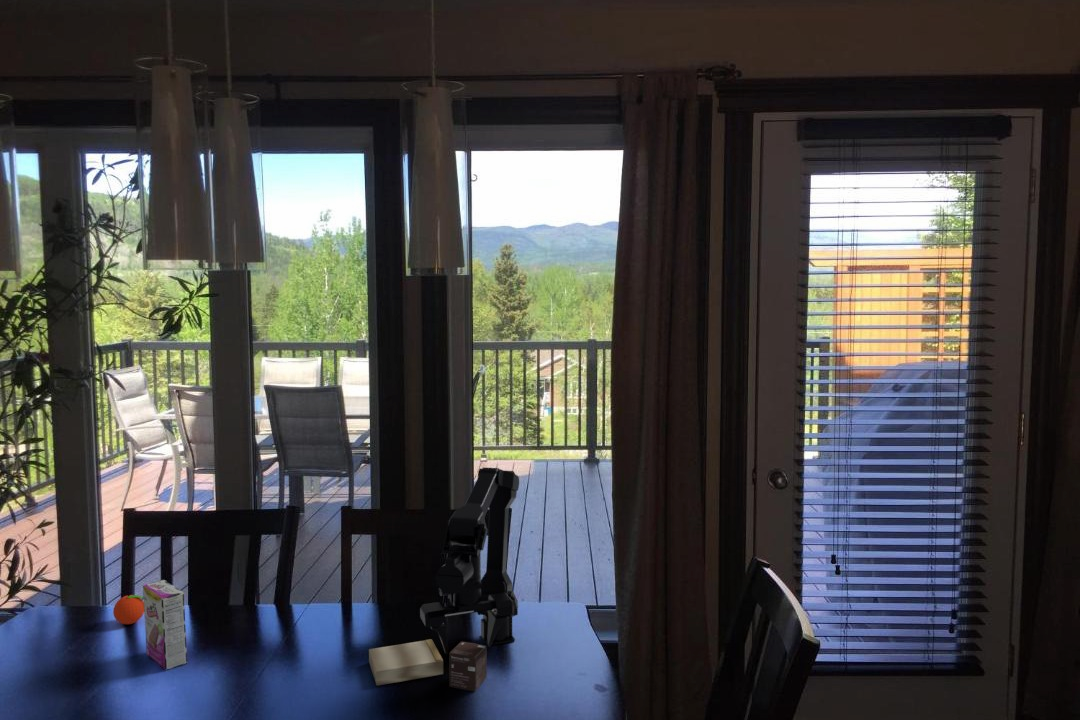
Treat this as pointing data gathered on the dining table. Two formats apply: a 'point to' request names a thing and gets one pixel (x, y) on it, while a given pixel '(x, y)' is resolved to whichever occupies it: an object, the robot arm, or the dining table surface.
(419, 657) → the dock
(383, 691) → the dining table surface
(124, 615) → the clementine
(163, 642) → the candy bar box
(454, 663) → the box
